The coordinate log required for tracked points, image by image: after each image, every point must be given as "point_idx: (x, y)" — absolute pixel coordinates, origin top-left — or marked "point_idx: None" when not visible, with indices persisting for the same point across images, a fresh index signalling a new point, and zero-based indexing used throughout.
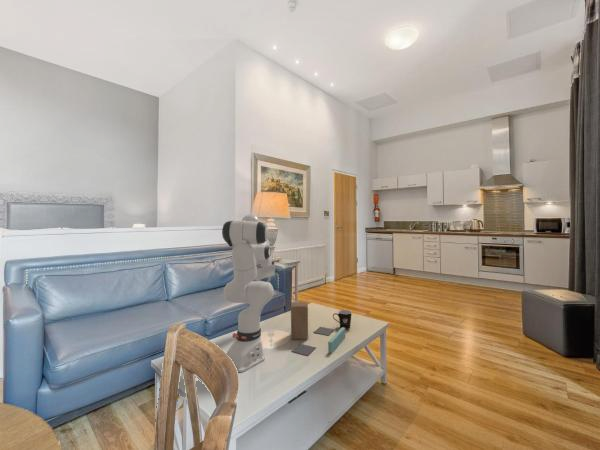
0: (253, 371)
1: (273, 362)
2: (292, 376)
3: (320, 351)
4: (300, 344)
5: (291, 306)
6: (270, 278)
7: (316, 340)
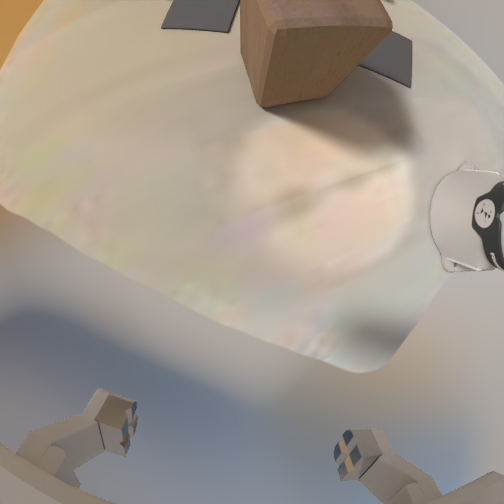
0: None
1: (467, 134)
2: (487, 84)
3: None
4: None
5: (388, 26)
6: (57, 435)
7: None
